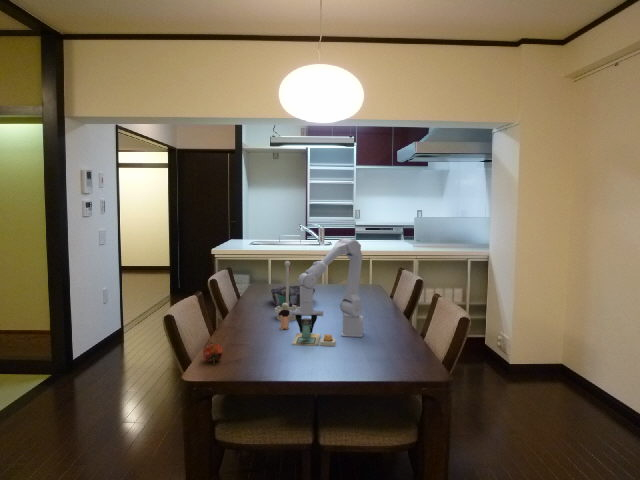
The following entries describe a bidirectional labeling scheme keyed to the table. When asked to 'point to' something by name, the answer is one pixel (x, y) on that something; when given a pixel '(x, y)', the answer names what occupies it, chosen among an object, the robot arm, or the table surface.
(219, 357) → the pomegranate
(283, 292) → the decorative bowl
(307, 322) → the green grey cylinder
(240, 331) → the table surface
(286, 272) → the flag stand
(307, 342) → the picture board
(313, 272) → the robot arm
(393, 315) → the table surface
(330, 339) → the button
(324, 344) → the button housing
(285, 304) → the grandmother figurine
